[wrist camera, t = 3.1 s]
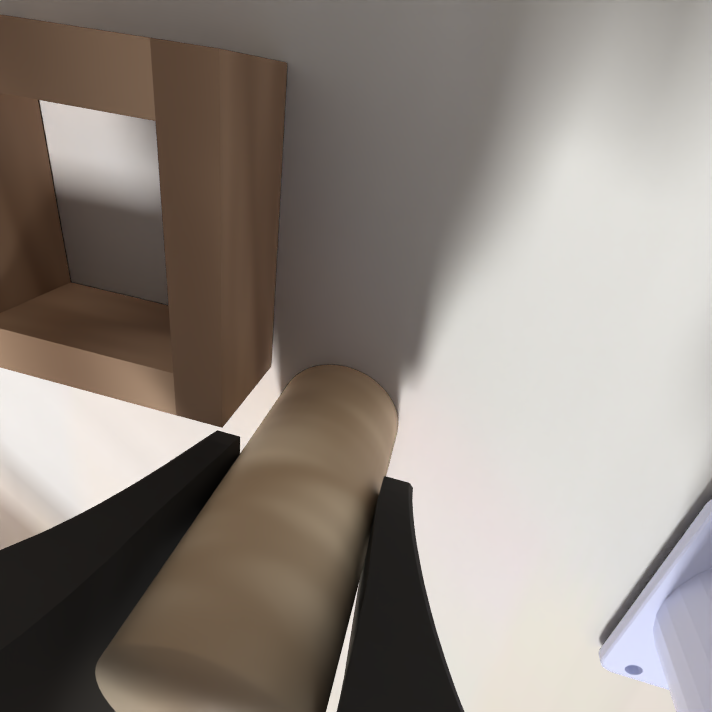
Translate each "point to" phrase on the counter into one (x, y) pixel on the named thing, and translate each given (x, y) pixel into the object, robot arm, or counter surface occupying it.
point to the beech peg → (265, 563)
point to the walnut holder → (179, 213)
